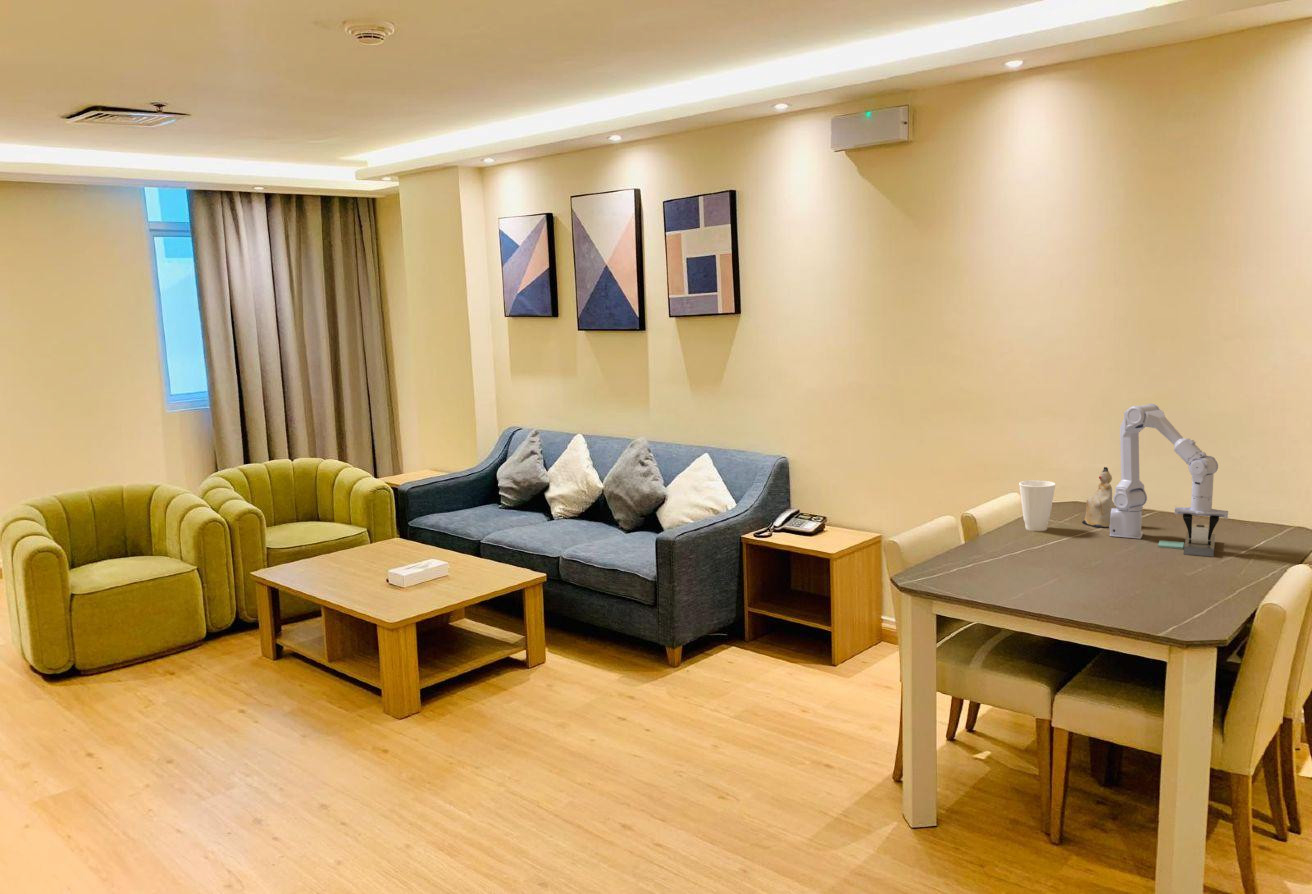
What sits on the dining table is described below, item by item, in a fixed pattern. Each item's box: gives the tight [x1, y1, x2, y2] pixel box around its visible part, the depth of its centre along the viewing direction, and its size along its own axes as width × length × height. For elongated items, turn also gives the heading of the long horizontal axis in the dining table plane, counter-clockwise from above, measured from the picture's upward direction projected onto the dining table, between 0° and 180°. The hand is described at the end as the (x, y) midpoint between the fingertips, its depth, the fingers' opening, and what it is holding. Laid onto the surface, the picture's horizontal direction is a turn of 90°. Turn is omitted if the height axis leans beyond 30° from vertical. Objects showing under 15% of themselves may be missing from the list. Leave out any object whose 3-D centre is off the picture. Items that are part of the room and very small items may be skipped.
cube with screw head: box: [1191, 523, 1209, 545], centre depth 311 cm, size 4×4×7 cm
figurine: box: [1081, 466, 1117, 529], centre depth 348 cm, size 12×10×20 cm
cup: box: [1018, 479, 1057, 532], centre depth 345 cm, size 12×12×16 cm
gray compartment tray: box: [1183, 531, 1216, 558], centre depth 314 cm, size 8×20×3 cm, turn 150°
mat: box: [1157, 539, 1185, 550], centre depth 318 cm, size 7×7×1 cm
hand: (1199, 538), depth 311 cm, fingers closed on cube with screw head, 4 cm apart
